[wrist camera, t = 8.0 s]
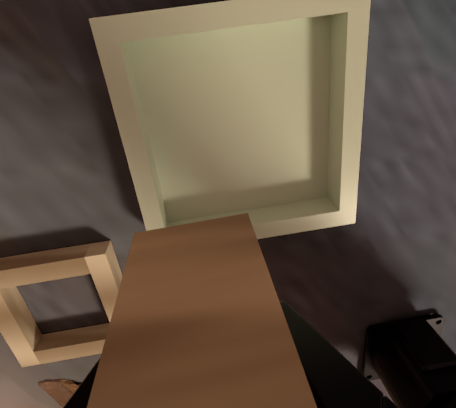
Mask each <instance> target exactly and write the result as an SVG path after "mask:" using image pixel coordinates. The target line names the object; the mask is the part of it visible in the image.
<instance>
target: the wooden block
mask: <svg viewBox="0 0 456 408" xmlns="http://www.w3.org/2000/svg"><path fill="white" fill-rule="evenodd" d="M87 408H317V406H316V403H315V400H314V397H313V395H312V392H311V389H310V386H309V383H308V381H307V378H306V375H305V372H304V369H303V366H302V364H301V361H300V358H299V355H298V352H297V350H296V347H295V344H294V341H293V338H292V336H291V333H290V330H289V327H288V324H287V322H286V319H285V316H284V313H283V310H282V307H281V305H280V302H279V299H278V296H277V293H276V291H275V288H274V285H273V282H272V279H271V277H270V274H269V271H268V268H267V265H266V263H265V260H264V257H263V254H262V251H261V248H260V246H259V243H258V240H257V237H256V234H255V232H254V229H253V226H252V223H251V220H250V218H249V215H248V213H245V214H239V215H233V216H228V217H222V218H216V219H211V220H205V221H199V222H194V223H188V224H182V225H177V226H171V227H165V228H160V229H154V230H148V231H143V232H137V233H134V236H133V240H132V244H131V247H130V251H129V255H128V258H127V262H126V266H125V269H124V273H123V277H122V280H121V284H120V288H119V291H118V295H117V299H116V302H115V306H114V310H113V313H112V317H111V321H110V324H109V328H108V332H107V335H106V339H105V343H104V346H103V350H102V354H101V357H100V361H99V365H98V368H97V372H96V376H95V379H94V383H93V387H92V390H91V394H90V398H89V401H88V405H87Z"/></svg>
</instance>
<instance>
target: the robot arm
mask: <svg viewBox="0 0 456 408" xmlns="http://www.w3.org/2000/svg"><path fill="white" fill-rule="evenodd" d="M279 302H280V305H281V307H282V310H283V313H284V316H285V319H286V322H287V324H288V327H289V330H290V333H291V336H292V338H293V341H294V344H295V347H296V350H297V352H298V355H299V358H300V361H301V364H302V366H303V369H304V372H305V375H306V378H307V381H308V383H309V386H310V389H311V392H312V395H313V397H314V400H315V403H316V406H317V408H456V354H455V353H454V352H453V351H452V350H451V348H450V347H449V346H448V345H447V344H446V343H445V341H444V340H443V339H442V338H441V333H442V329H443V325H444V321H445V319H444V318H443V317H442V316H441V315H440V314H434V315H429V316H423V317H418V318H412V319H406V320H401V321H395V322H390V323H384V324H378V325H373V326H370V327H368V328H367V330H366V337H365V347H364V357H363V366H362V373H361V372H360V371H359V370H358V369H357V368H355V367H354V366H353V365H352V364H351V363H350V362H349V361H348V360H347V359H346V358H345V357H344V356H343V355H342V354H341V353H340V352H338V351H337V350H336V349H335V348H334V347H333V346H332V345H331V344H330V343H329V342H328V341H327V340H326V339H325V338H324V337H322V336H321V335H320V334H319V333H318V332H317V331H316V330H315V329H314V328H313V327H312V326H311V325H310V324H309V323H308V322H307V321H305V320H304V319H303V318H302V317H301V316H300V315H299V314H298V313H297V312H296V311H295V310H294V309H293V308H292V307H291V306H289V305H288V304H287V303H286V302H285V301H279ZM99 361H100V359H99V360H98V362H97V363H96V364H95V366H94V367H93V368H92V370H91V371H90V372H89V374H88V375H87V376H86V378H85V379H84V380H83V382H82V383H81V385H80V386H79V387H78V389H77V390H76V391H75V393H74V394H73V395H72V397H71V398H70V399H69V401H68V402H67V403H66V405H65V406H64V407H63V408H87V405H88V401H89V398H90V394H91V390H92V387H93V383H94V379H95V376H96V372H97V368H98V365H99ZM375 379H381V381H382V383H383V384H384V386H385V388H386V390H387V391H388V393H389V395H390V397H391V398H392V400H393V402H394V403H393V402H392V401H391V400H390V399H389V398H388V397H386V396H384V397H383V393H382V392H381V391H380V390H379V389H378V388H377V387H376V386H375V385H374V384H373V383H371V382H370V381H369V380H375Z"/></svg>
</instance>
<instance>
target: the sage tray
mask: <svg viewBox="0 0 456 408" xmlns="http://www.w3.org/2000/svg"><path fill="white" fill-rule="evenodd" d="M370 2H371V0H229V1H221V2H213V3H205V4H197V5H190V6H182V7H174V8H166V9H158V10H151V11H143V12H135V13H127V14H119V15H112V16H104V17H96V18H89V22H90V26H91V29H92V33H93V37H94V40H95V44H96V48H97V51H98V55H99V59H100V62H101V66H102V70H103V73H104V77H105V81H106V84H107V88H108V92H109V95H110V99H111V103H112V106H113V110H114V114H115V117H116V121H117V125H118V128H119V132H120V136H121V140H122V143H123V147H124V151H125V154H126V158H127V162H128V165H129V169H130V173H131V176H132V180H133V184H134V187H135V191H136V195H137V198H138V202H139V206H140V209H141V213H142V217H143V220H144V224H145V228H146V231H148V230H154V229H160V228H165V227H171V226H177V225H182V224H188V223H194V222H199V221H205V220H211V219H216V218H222V217H228V216H233V215H239V214H245V213H248V215H249V218H250V220H251V223H252V226H253V229H254V232H255V234H256V237H257V239H262V238H268V237H274V236H280V235H286V234H292V233H299V232H305V231H311V230H317V229H323V228H329V227H335V226H341V225H347V224H354V223H355V221H356V207H357V192H358V178H359V163H360V148H361V134H362V119H363V104H364V90H365V75H366V61H367V46H368V31H369V17H370Z"/></svg>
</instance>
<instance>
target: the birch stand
mask: <svg viewBox="0 0 456 408" xmlns="http://www.w3.org/2000/svg"><path fill="white" fill-rule="evenodd" d="M86 274H91V276H92V278H93V281H94V283H95V286H96V289H97V291H98V294H99V296H100V299H101V301H102V304H103V306H104V309H105V312H106V314H107V317H108V319H109V322H110V321H111V317H112V313H113V310H114V306H115V302H116V299H117V295H118V291H119V288H120V284H121V280H122V277H123V276H122V273H121V270H120V267H119V264H118V261H117V258H116V255H115V252H114V249H113V246H112V243H111V240H109V241H103V242H97V243H90V244H84V245H78V246H72V247H65V248H59V249H53V250H47V251H40V252H34V253H28V254H22V255H15V256H9V257H3V258H0V332H1V334H2V335H3V337H4V339H5V340H6V342H7V343H8V345H9V347H10V348H11V350H12V352H13V353H14V355H15V356H16V358H17V360H18V361H19V363H20V365H21V366H22V367H26V366H32V365H38V364H44V363H49V362H55V361H61V360H66V359H72V358H78V357H83V356H89V355H95V354H100V353H102V350H103V346H104V343H105V339H106V335H107V332H108V328H109V324H110V323H106V324H100V325H94V326H88V327H82V328H77V329H71V330H65V331H59V332H53V333H47V334H41V332H40V330H39V328H38V326H37V324H36V322H35V320H34V319H33V317H32V315H31V313H30V311H29V309H28V307H27V305H26V304H25V302H24V300H23V298H22V296H21V294H20V292H19V290H18V289H17V287H16V286H19V285H26V284H32V283H38V282H44V281H50V280H56V279H62V278H68V277H74V276H80V275H86Z"/></svg>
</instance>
